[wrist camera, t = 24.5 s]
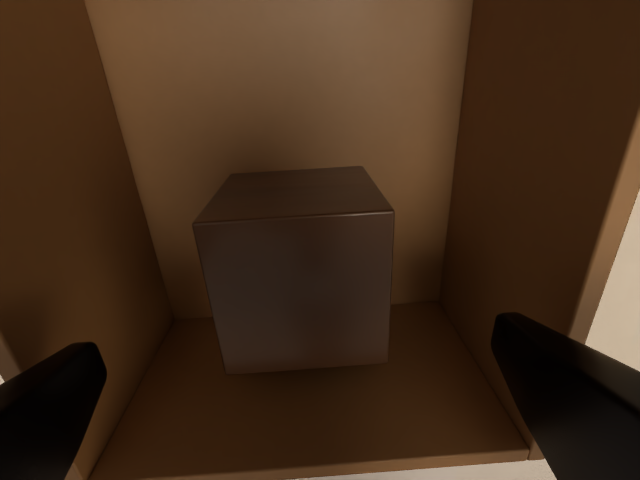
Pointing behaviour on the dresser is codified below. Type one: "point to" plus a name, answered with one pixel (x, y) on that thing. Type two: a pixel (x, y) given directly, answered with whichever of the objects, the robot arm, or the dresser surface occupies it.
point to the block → (298, 269)
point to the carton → (309, 153)
